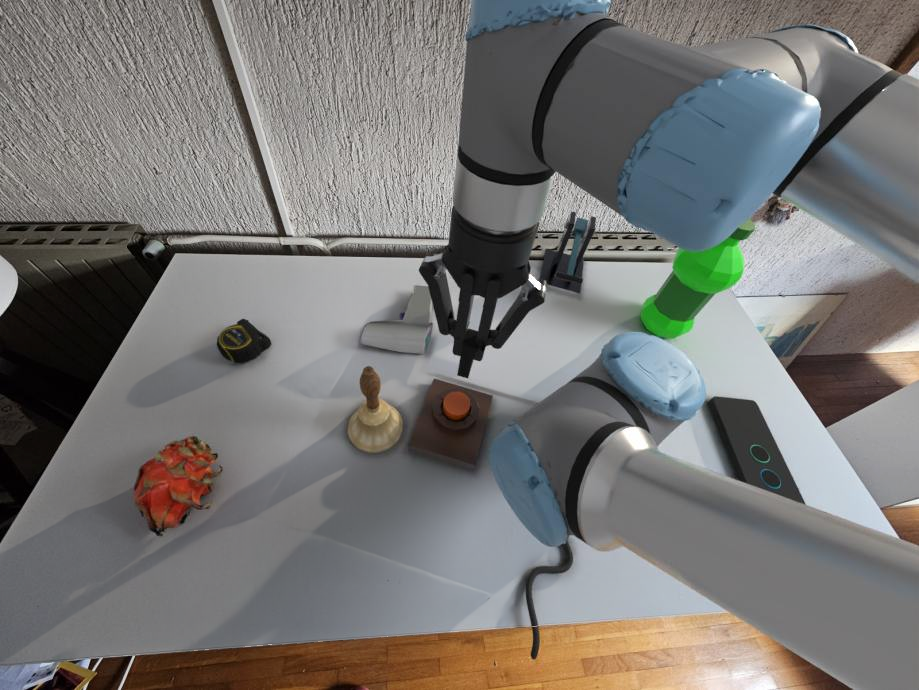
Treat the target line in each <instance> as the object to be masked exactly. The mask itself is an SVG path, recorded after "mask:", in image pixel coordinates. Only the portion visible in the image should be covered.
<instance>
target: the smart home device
mask: <svg viewBox="0 0 919 690" xmlns="http://www.w3.org/2000/svg"><path fill="white" fill-rule="evenodd" d="M707 404H708V408H709V410H710V412H711V416H712V418H713V420H714V423H715V425H716V428H717V430H718V433H719V436H720V439H721V441H722V443H723V446H724V449H725V451H726V454H727V456H728V459H729V461H730V463H731V466H732V469H733V472H734V473H735V477H736V480H739V481H741V482H744V483H747V484H750V485H752V486H755V487H758V488H761V489H763V490H766V491H769V492H772V493H774V494H777V495H780V496H783V497H786V498H788V499H791V500H794V501H797V502H799V503H802V504H805V505H807V503H806V502H805V500H804V497H803V496H802V494H801V491H800V489H799V486H798V485H797V483H796V480H795V479H794V476H793V474H792V472H791V471H790V468H789V466H788V464H787V462H786V460H785V458H784V456H783V454H782V452H781V450H780V448H779V446H778V443H777V441H776V440H775V438H774V436H773V433H772V431H771V429H770V428H769V425H768V423H767V421H766V419H765V417H764V415H763V413H762V410H761V408H760V406H759V405H758V403H757V402H756V401H755V400H754V399H746V398H735V397H726V396H716V395H715V396H713V397H711V398H710V399H709V400H707Z"/></svg>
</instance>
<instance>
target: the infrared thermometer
mask: <svg viewBox="0 0 919 690" xmlns="http://www.w3.org/2000/svg"><path fill="white" fill-rule="evenodd" d="M407 303H408V304H407V308H406V310H405V312H400V313H399V319H391V320H390V319H389V320H374V321H373V320H372V321H369V322H367V323H366V324H365V325H364V326H363V328H362V330H361V333H360V336H359V342H360V344H361V345H364V346H370V347H373V348H378V349H384V350H388V351H394V352H398V353H407V354H421V355H425V354H426V353H427V351H428V348H429V345H430V342H431V337H432V332H433V327H434V322H432V319H433V315H432V312H433V311H432V310H433V304H432V300H431V296H430V291H429V287H428V285H418V284H417V285H416V284H415V285H413V293H412V295H411V297H410V299H409V301H408V302H407Z"/></svg>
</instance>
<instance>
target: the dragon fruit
mask: <svg viewBox="0 0 919 690" xmlns="http://www.w3.org/2000/svg"><path fill="white" fill-rule="evenodd" d="M212 451H213V449H212V447H211V446H210V445H209V444H208V443H206V442H205V441H203V440H202V439H201V438H199V436H197V435H192V436H188V437H185V438H184V439H181V440H179V441H178V440H173V441H170V442H168V443H167V444H165V446H164V449H162V450H159V451H158V452H157V454H156V455H155V456H154V457H153V458H151V459H149V460H148V461H146V462H144V463H143V464H141V466H140V467H139V468H138V471H137V476H136V480H135V482H134V485H133V490H134V492H133V503H134V505H135V506H136V507H137V508H138V511H139V513H140V515H141V517H143V518H144V517H145V520H146V522H147V526H148V529H149V530H150V532H152V533H153V534H155V536H157V537H159V538H160V537H161V538H162V537H164V534H165V533H167V531H166V530H168V529H175V528H177V527H179V526H181V525H184V524H185V523H186V520H187V519H188V517H189V516H190V515H191V512H192V509H190V508H193V509H195V510H198V511H203V510H205V509H206V510H209V509H210V508H211V507H212V505H213V503H214V500H211V501H210V500H209V501H207V502H206V503H204V504H201V501H200V498H201V496H209V495H211V494H212V493H213V492H214V483H213V478H217V477H219V476H221V474H222V473H223V471H224V467H223V466H222V465H218V466H219V467H218V468H220V469H221V470H219V471H214V470H213V469H212V467H211V465H213V464H215V462H217V460H218V458H219V454H218V452H215V453H212ZM188 509H190V510H189V511H187V510H188Z"/></svg>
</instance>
